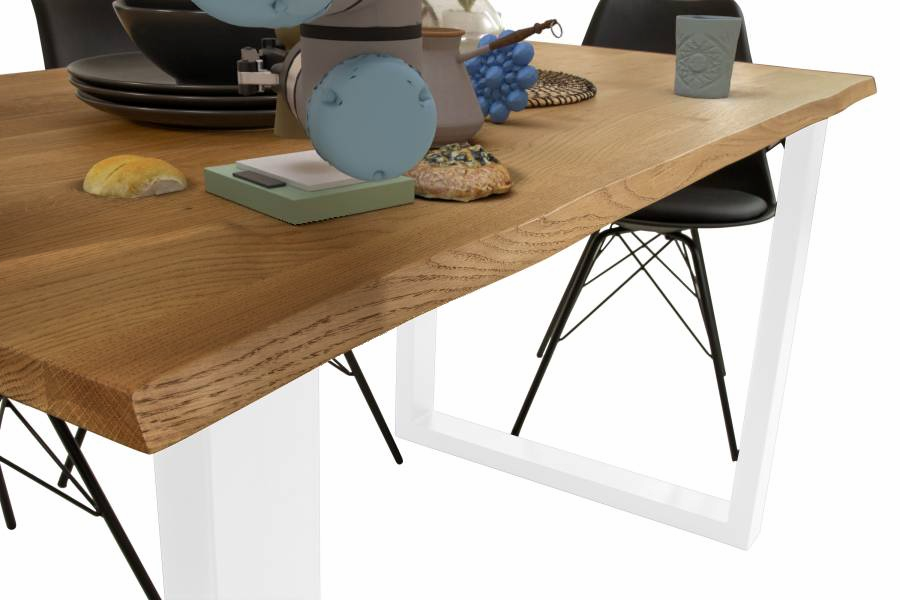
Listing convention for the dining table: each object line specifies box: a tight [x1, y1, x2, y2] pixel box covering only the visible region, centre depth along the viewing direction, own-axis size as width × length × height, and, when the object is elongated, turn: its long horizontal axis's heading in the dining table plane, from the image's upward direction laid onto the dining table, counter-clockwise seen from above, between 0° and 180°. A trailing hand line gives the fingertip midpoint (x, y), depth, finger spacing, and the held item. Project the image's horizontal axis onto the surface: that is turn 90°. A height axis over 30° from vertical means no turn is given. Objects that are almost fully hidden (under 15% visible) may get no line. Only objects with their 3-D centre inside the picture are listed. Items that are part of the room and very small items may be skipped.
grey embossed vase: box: [673, 14, 743, 99], centre depth 159 cm, size 10×10×12 cm
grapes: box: [464, 29, 539, 124], centre depth 131 cm, size 12×7×12 cm, turn 52°
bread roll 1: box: [82, 154, 188, 199], centre depth 90 cm, size 8×9×4 cm
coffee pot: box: [422, 18, 564, 149], centre depth 114 cm, size 21×12×15 cm, turn 57°
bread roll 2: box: [402, 143, 515, 203], centre depth 96 cm, size 11×11×5 cm
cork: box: [273, 24, 311, 140], centre depth 89 cm, size 6×6×11 cm
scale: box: [203, 149, 415, 226], centre depth 92 cm, size 13×15×3 cm
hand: (298, 52), depth 94 cm, fingers closed on cork, 4 cm apart
